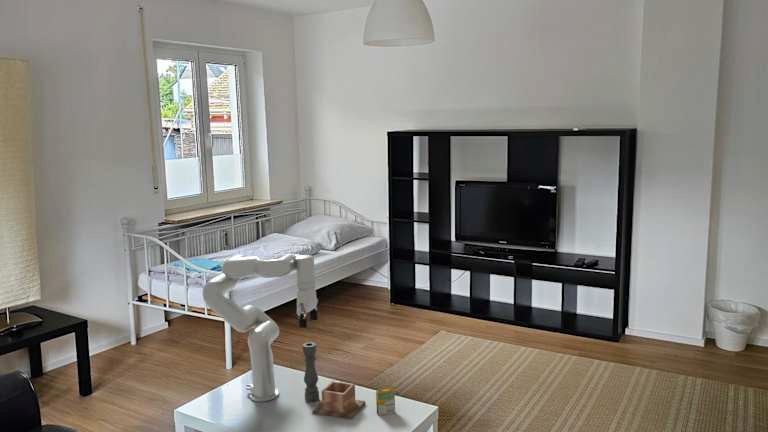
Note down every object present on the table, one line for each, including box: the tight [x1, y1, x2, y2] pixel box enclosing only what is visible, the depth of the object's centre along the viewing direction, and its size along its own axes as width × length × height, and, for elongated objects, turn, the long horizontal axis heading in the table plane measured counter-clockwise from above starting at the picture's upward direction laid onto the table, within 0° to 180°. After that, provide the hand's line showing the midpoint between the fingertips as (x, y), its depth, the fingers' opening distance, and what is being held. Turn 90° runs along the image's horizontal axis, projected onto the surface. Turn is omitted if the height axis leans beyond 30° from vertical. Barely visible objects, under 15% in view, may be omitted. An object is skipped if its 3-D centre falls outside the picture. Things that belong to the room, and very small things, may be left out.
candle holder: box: [302, 341, 320, 404], centre depth 272 cm, size 6×6×25 cm
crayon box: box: [375, 386, 396, 416], centre depth 259 cm, size 7×3×12 cm, turn 106°
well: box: [311, 380, 366, 420], centre depth 264 cm, size 18×14×10 cm
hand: (308, 323), depth 269 cm, fingers open, 9 cm apart
